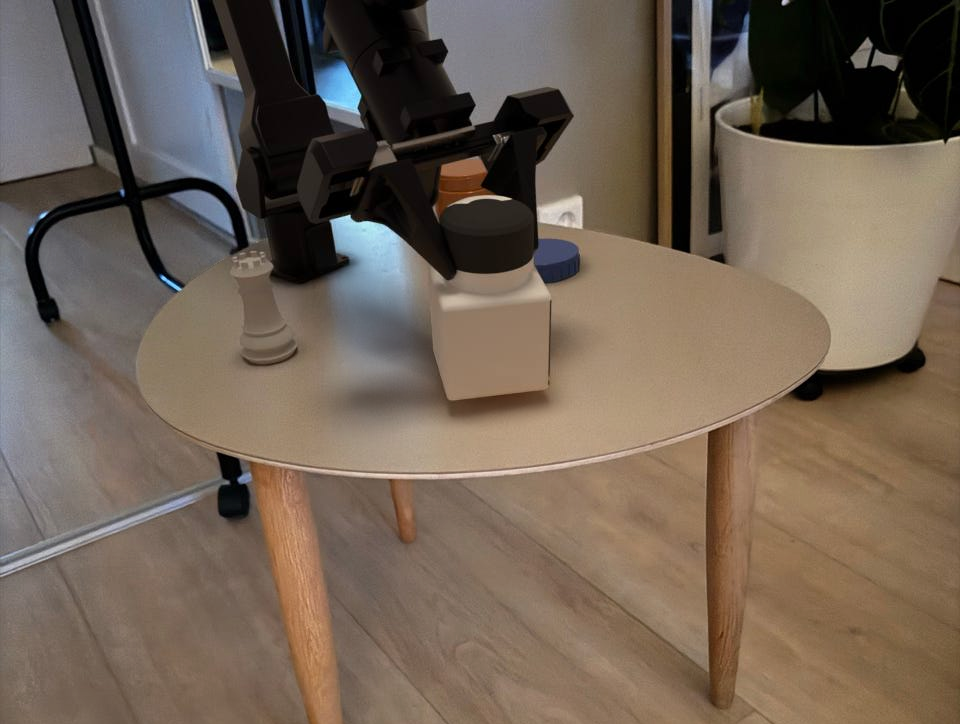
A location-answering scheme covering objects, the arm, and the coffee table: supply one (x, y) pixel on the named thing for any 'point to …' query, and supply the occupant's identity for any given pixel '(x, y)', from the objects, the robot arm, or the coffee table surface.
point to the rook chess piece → (261, 312)
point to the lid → (556, 259)
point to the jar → (460, 183)
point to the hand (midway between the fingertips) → (494, 264)
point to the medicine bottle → (490, 302)
